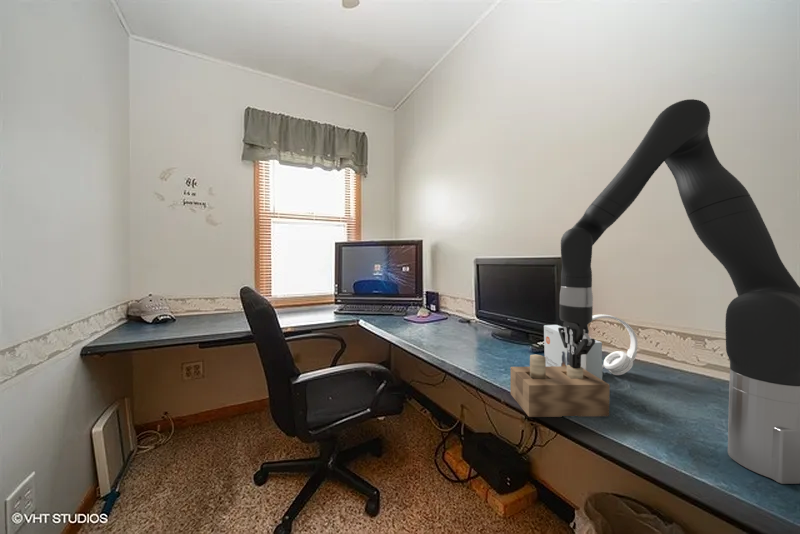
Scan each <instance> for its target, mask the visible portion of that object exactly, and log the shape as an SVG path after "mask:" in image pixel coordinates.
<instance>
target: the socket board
mask: <svg viewBox="0 0 800 534" xmlns="http://www.w3.org/2000/svg"><path fill="white" fill-rule="evenodd" d="M610 385H611V384H609V383H608V382H606V381H604V380H603V379H602V380H601V379H600V378H598V377H596V376H595V375H593V374H591V373H590V372H588V371H586V370H585V369H583V379H571V378H569V377H568V376H567V366H550V367H546V379H532V378H531V377H530V366H510V396H512V398H513V399H514V400H515V402H517V404H518V405H519V406H520V408H521V409H522V410H523V411H524V413H525V414H526V415H527V416H528V417H529V418H547V417H548V418H551V417H552V418H553V417H554V418H556V417H557V418H559V417H560V418H561V417H562V416H578V417H610V392H611V391H610V390H611V389H610V388H611V387H610ZM562 418H563V417H562Z"/></svg>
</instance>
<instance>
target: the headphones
mask: <svg viewBox="0 0 800 534" xmlns="http://www.w3.org/2000/svg"><path fill="white" fill-rule="evenodd" d="M598 319H613V320H616V321H617V322H619V323H620V324H622V325H623V326H624V328H625V329H626V330H627V332H628V334H629V339H630V345H629V348H628V349H627V351H620V350H617V351H612V352H611V353H609V354H607V356H605V358H604V360H603V363H602V370H604V368H605V369H606V370H607V371H609V372H610V373H611V374H612V375H614V376H621V375H624V374H626V373H628V372H629V371H630V370H631V369H632V367H633V366H634V361H635V359H636V357H637V354H638V345H639V344H638V337H637V335H636V332H635V330H634V329H633V328H632V327H631V326H630V324H628V322H626V321H625V320H623V319H621V318H619V317H617V316H614V315H610V314H603V313H602V314H601V313H600V314H592V322H593V321H595V320H598Z"/></svg>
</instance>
